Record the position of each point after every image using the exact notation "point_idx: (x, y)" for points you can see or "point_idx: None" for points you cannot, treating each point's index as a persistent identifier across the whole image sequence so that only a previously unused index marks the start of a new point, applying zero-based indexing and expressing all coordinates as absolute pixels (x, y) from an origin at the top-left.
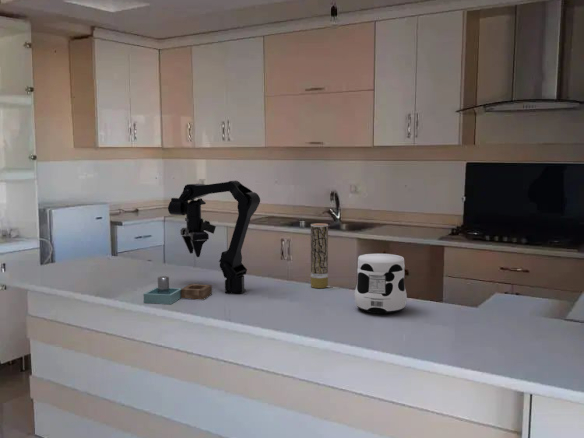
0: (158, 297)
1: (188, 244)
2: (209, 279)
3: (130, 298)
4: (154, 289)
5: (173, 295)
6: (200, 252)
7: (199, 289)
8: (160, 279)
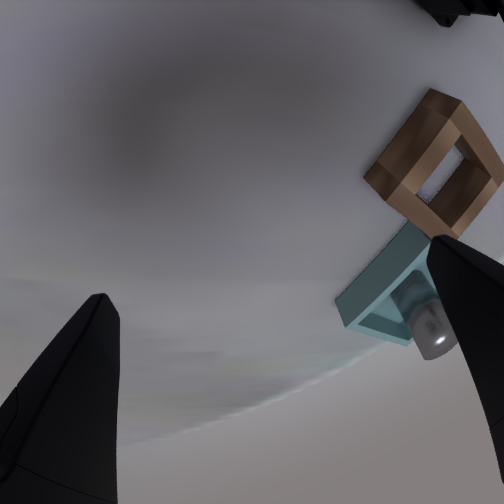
0: None
1: (100, 446)
2: (33, 44)
3: (323, 355)
4: (374, 329)
5: None
6: (496, 263)
7: (492, 182)
8: (448, 347)
